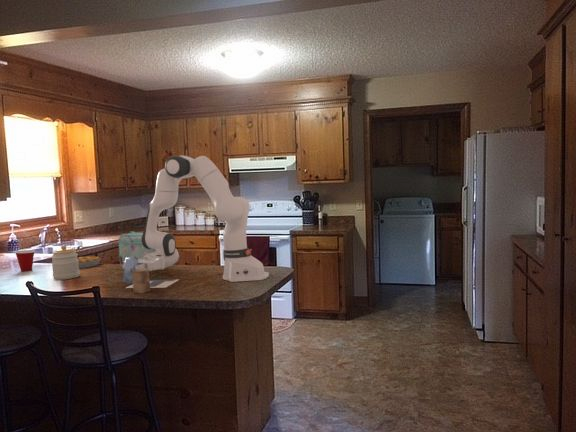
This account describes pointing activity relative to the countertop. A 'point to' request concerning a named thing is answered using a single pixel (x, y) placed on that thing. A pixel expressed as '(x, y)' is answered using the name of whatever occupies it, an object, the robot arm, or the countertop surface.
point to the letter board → (159, 283)
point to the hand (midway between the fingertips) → (129, 267)
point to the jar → (65, 263)
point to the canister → (129, 269)
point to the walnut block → (141, 281)
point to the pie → (88, 261)
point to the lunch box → (132, 247)
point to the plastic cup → (25, 259)
